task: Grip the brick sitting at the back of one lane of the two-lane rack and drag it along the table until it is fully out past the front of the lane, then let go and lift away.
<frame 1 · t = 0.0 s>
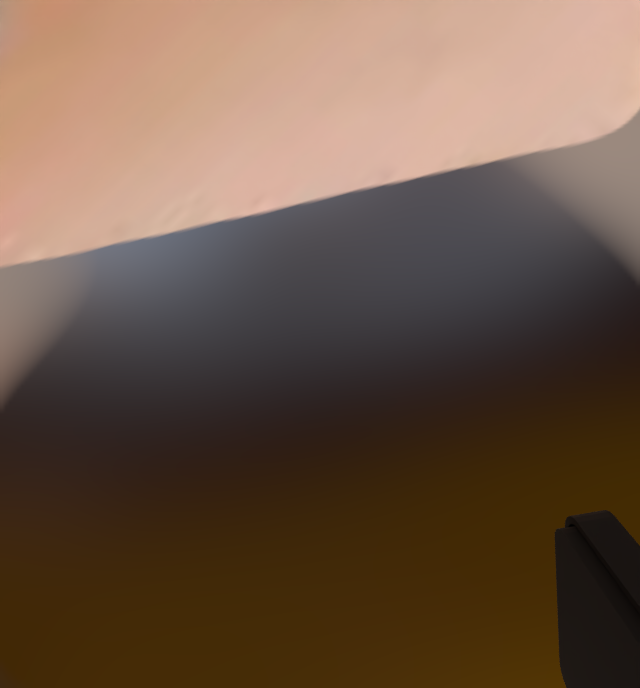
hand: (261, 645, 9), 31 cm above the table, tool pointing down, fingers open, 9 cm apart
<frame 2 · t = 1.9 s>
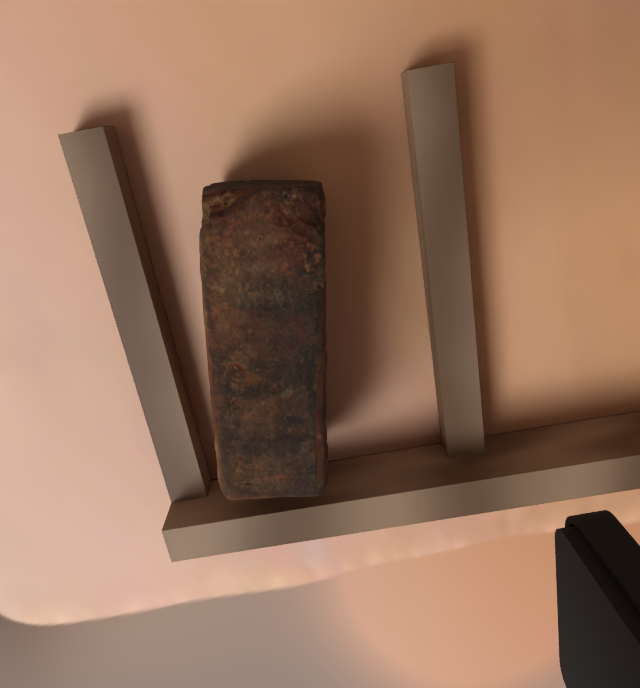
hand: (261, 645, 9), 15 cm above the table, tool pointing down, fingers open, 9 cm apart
lane rack: (445, 294, 23), on the table
brick: (273, 316, 23), on the table
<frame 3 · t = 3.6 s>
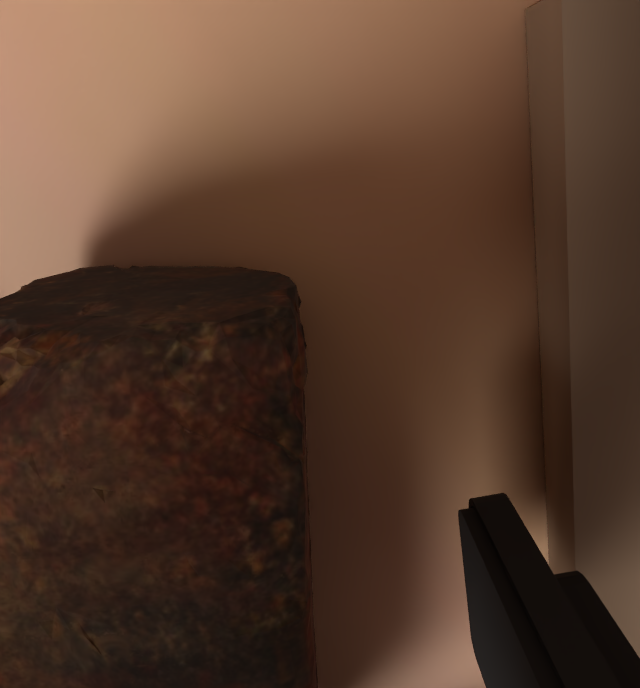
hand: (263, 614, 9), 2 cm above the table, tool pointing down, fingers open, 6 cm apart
lane rack: (585, 480, 11), on the table
brick: (210, 525, 11), on the table, touching gripper
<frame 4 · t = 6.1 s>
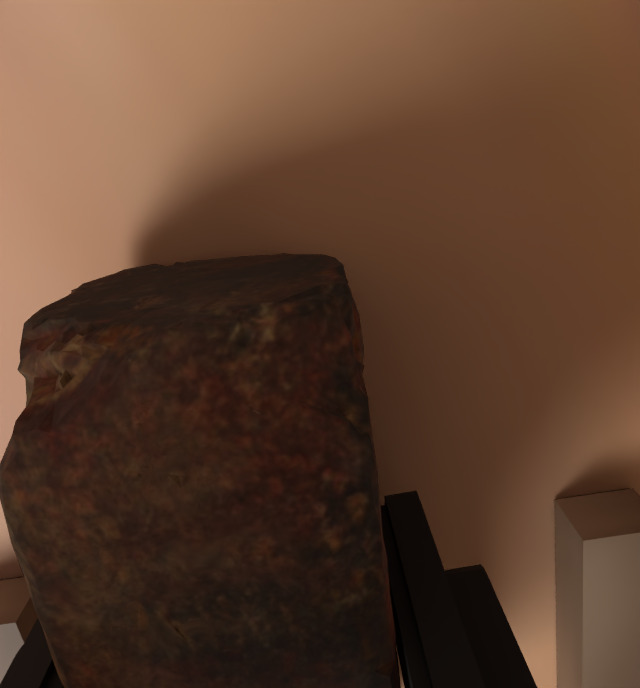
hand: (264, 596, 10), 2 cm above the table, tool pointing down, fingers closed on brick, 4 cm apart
brick: (268, 517, 11), on the table, touching gripper
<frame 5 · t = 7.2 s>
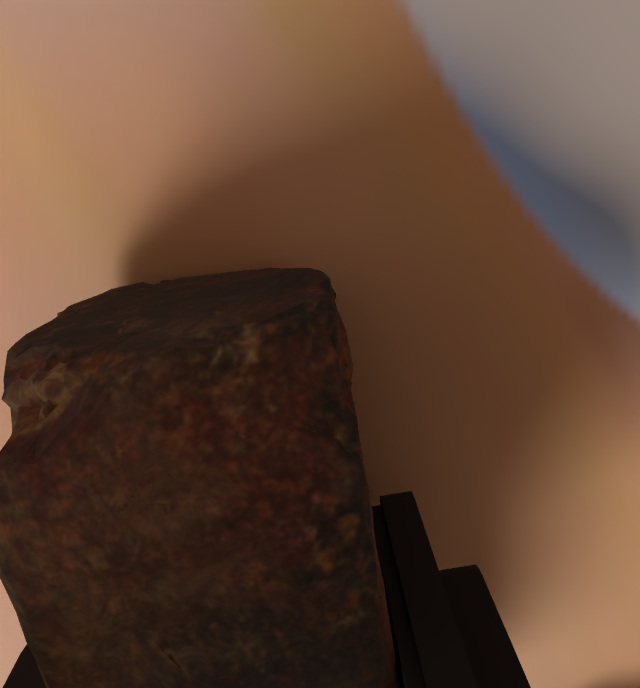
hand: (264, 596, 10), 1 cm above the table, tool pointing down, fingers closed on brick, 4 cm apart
brick: (268, 531, 11), on the table, touching gripper
when the fingers open (1 cm above the table, at t = 8.2 s): brick stays where it is, on the table.
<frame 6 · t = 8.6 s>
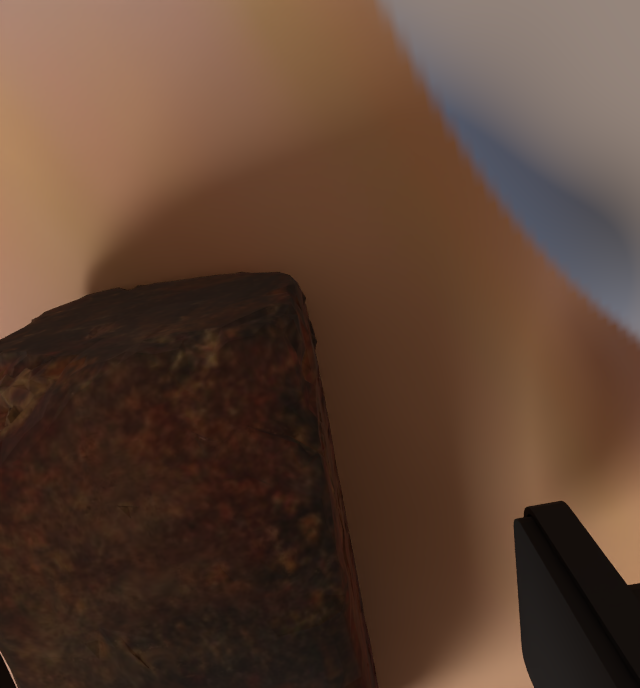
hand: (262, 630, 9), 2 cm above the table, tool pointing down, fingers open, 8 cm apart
brick: (250, 532, 11), on the table
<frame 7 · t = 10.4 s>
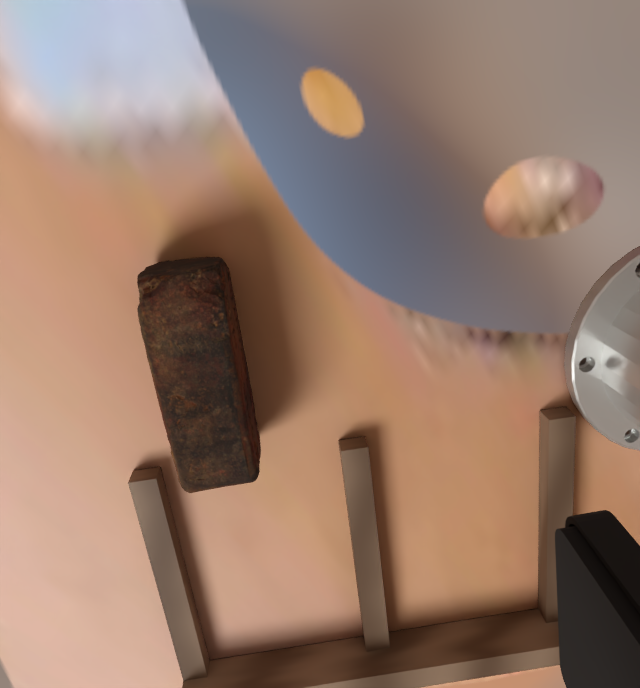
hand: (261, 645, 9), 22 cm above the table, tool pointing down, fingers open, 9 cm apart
lane rack: (365, 553, 35), on the table
brick: (209, 353, 31), on the table
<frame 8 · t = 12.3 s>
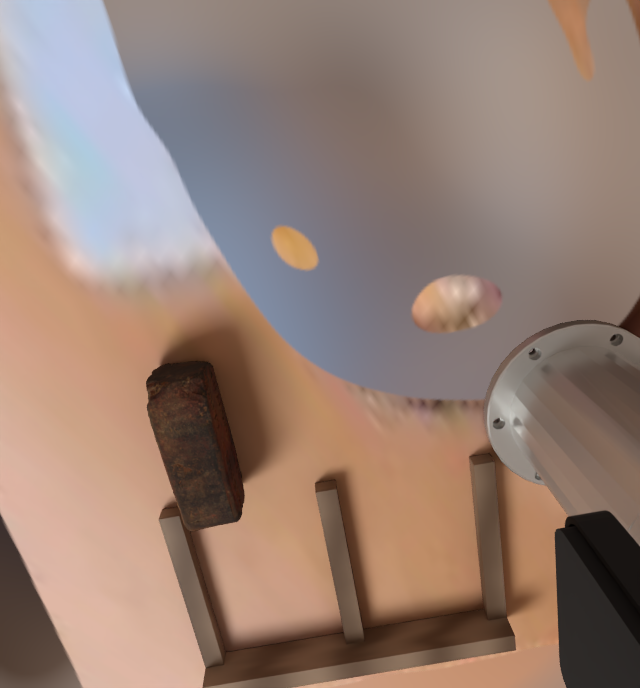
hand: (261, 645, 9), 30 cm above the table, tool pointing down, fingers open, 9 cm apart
lane rack: (341, 567, 46), on the table
brick: (203, 425, 42), on the table
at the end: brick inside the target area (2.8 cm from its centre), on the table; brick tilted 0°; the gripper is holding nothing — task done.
